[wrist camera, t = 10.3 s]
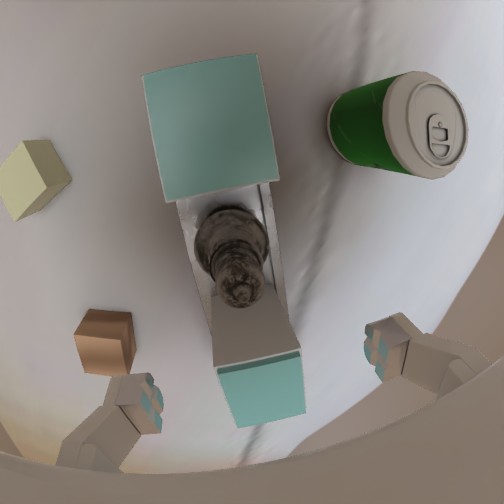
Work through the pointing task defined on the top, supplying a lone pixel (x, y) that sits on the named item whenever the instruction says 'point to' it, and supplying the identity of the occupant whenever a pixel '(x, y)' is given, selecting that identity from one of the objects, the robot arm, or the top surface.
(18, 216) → the block olive
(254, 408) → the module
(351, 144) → the soda can
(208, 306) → the rail
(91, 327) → the block walnut
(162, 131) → the block
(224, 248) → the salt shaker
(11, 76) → the top surface
